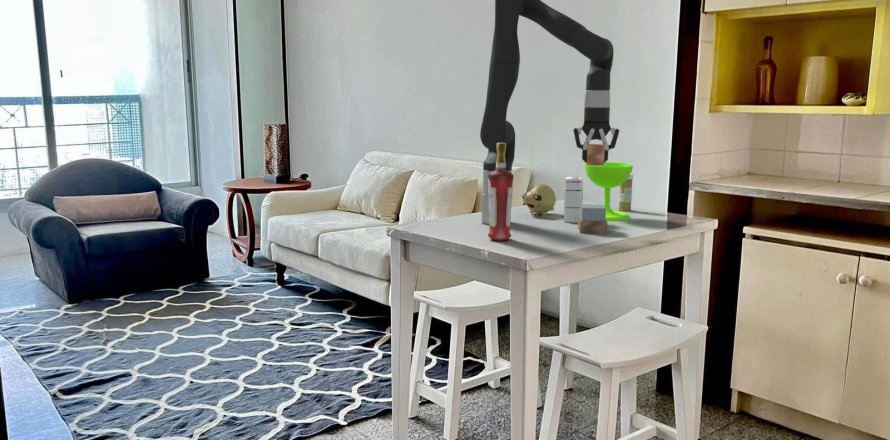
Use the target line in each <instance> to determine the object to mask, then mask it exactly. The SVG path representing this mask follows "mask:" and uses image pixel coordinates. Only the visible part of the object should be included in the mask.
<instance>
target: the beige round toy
mask: <svg viewBox="0 0 890 440" xmlns="http://www.w3.org/2000/svg"><path fill="white" fill-rule="evenodd" d="M521 198H522V201H523V203H524V204H525V205H526V206H527V208H528V209H529V213H530V214H534V213H535V214H539V215H541V216H543V217H544V216H546V214H547V213H548V212H550V211H554V210H555V207H554V206H555V205H556V202H557V196H556V193H555V191H554V190H553V188H552V187H551V186H550V185H548V184H545V183H540V184H538V185H536V186H535V187H533V188H532V189H531V190H530V191H527V192H525V193H523V194H522V197H521Z"/></svg>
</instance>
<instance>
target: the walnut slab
mask: <svg viewBox="0 0 890 440" xmlns="http://www.w3.org/2000/svg"><path fill="white" fill-rule="evenodd" d="M577 224H578V225H577V226H578V227H577V229H578V231H579V233H580V234H595V235H597V234H601V235H607V234H608V221H607V220H606V219H605V221H582V220H581V217H580V216H579V220H578V223H577Z"/></svg>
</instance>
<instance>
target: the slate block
mask: <svg viewBox="0 0 890 440" xmlns="http://www.w3.org/2000/svg"><path fill="white" fill-rule="evenodd" d="M580 217H581V220H582V221H605V219H606V208H605V206H604V204H586V203H585V204H584V203H582V204H581V215H580Z"/></svg>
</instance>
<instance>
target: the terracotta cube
mask: <svg viewBox="0 0 890 440" xmlns="http://www.w3.org/2000/svg"><path fill="white" fill-rule="evenodd" d="M604 152H605V145H603V144H602V143H597V144H596V143H589V145H587V162H585V163H586V165H603V166H604Z"/></svg>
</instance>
